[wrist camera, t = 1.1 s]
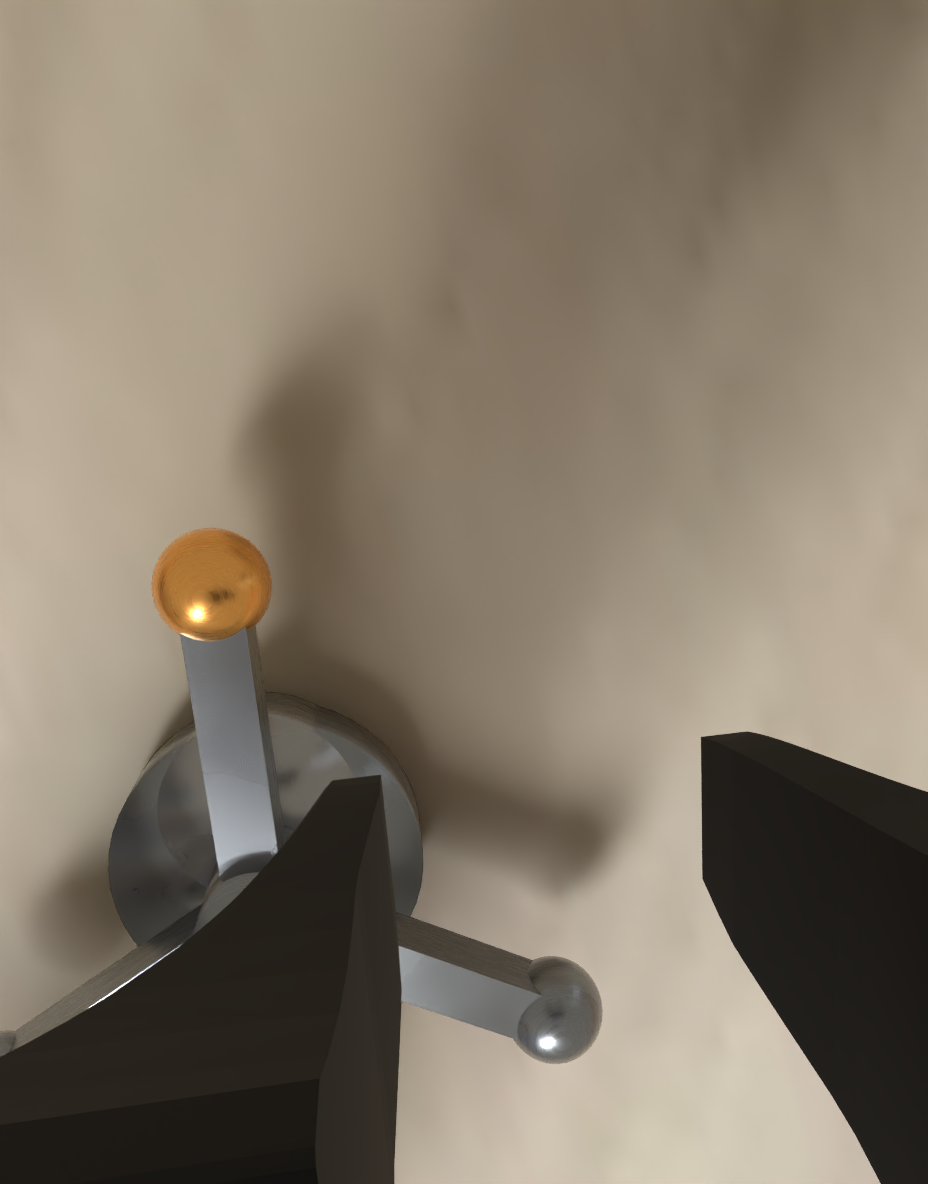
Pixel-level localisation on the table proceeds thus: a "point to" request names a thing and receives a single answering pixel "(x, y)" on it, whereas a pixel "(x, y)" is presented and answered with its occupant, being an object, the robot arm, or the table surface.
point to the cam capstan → (286, 821)
